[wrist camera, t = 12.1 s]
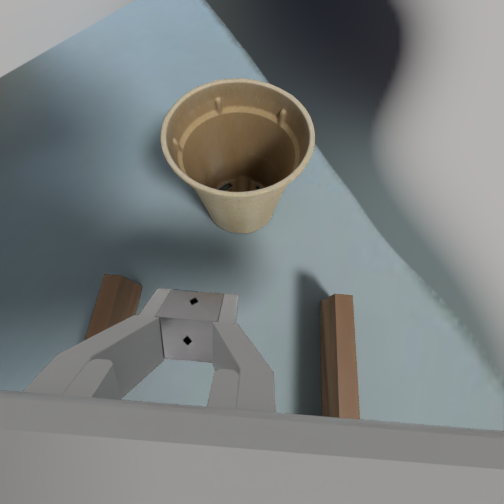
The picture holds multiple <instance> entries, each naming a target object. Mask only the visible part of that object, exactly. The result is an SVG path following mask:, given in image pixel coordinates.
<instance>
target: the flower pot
mask: <svg viewBox="0 0 504 504" xmlns="http://www.w3.org/2000/svg"><path fill="white" fill-rule="evenodd" d="M314 144H315V132H314V126H313V123H312V120H311V118H310V116H309V114H308V112H307V110H306V109H305V108H304V107H303V105H302V104H301V103H300V102H299V101H298V100H297V99H295V97H293V95H290V94H289V93H287V92H286V91H284V90H282V89H280V88H278V87H276V86H274V85H271V84H268V83H264V82H262V81H256V80H251V79H224V80H218V81H213V82H210V83H207V84H204V85H201V86H198V87H197V88H195V89H193V90H191V91H190V92H188V93H187V94H185V95H184V96H183V97H181V98H180V99H179V100H178V101H177V102H176V103H175V104H174V105H173V107H172V109H171V110H170V111H169V112H168V113H167V115H166V118H165V119H164V121H163V125H162V128H161V147H162V150H163V153H164V156H165V158H166V160H167V162H168V164H169V165H170V167H171V168H172V170H173V171H174V172H175V173H176V174H177V175H178V176H179V177H180V178H181V179H182V180H183V181H184V182H186V183H187V184H189V185H190V186H191V187H192V188H193V189H195V191H196V192H197V194H198V196H199V197H200V199H201V201H202V202H203V204H204V206H205V207H206V209H207V211H208V213H209V214H210V217H211V218H212V220H213V221H214V222H215V223H216V224H217V225H218V226H219V227H221V228H222V229H224V230H226V231H228V232H234V233H251V232H254V231H256V230H258V229H260V228H262V227H263V226H264V225H265V224H266V223H267V222H268V221H269V220H270V218H271V216H272V214H273V212H274V210H275V208H276V206H277V203H278V201H279V199H280V197H281V195H282V193H283V191H284V189H285V187H286V186H287V185H288V184H289V183H290V182H291V181H293V180H294V179H295V178H296V177H297V176H298V175H299V174H300V173H301V172H302V171H303V169H304V168H305V166H306V165H307V163H308V161H309V159H310V157H311V155H312V152H313V148H314ZM228 184H231V187H230V188H228V189H227V190H225V191H221V190H220V189H221V188H222V187H224V186H226V185H228ZM256 187H259V188H260V189H259V190H257V189H256Z"/></svg>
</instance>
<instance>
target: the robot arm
mask: <svg viewBox="0 0 504 504" xmlns="http://www.w3.org/2000/svg"><path fill="white" fill-rule="evenodd" d="M237 311H238V294H226V293H225V294H221V293H206V292H197V291H188V290H178V289H167V288H158V289H157V290H156V291H155V292H154V294H153V295H152V297H151V298H150V299H149V301H148V302H147V304H146V305H145V307H144V308H143V309H142V311H141V312H140V314H139V315H133V316H131V317H130V318H128V319H126V320H124V321H122V322H120V323H118V324H116V325H114V326H112V327H110V328H108V329H106V330H104V331H102V332H100V333H98V334H96V335H94V336H92V337H90V338H88V339H86V340H85V341H83V342H81V343H79V344H77V345H75V346H73V347H71V348H69V349H67V350H65V351H63V352H61V353H59V354H57V356H56V357H55V358H54V359H53V360H52V361H51V362H50V363H49V364H48V365H47V366H46V367H45V368H44V369H43V370H42V371H41V372H40V373H39V374H38V376H37V377H36V378H35V379H34V380H33V381H32V382H31V383H30V384H29V385H28V386H27V387H26V388H25V389H24V390H23V391H22V392H19V391H7V390H0V504H504V431H498V430H485V429H473V428H461V427H449V426H436V425H424V424H412V423H399V422H387V421H375V420H362V419H350V418H338V417H326V416H314V415H302V414H289V413H277V412H276V406H275V388H274V372H273V371H272V369H271V368H270V367H269V365H268V364H267V363H266V361H265V360H264V358H263V357H262V356H261V354H260V353H259V352H258V350H257V349H256V347H255V346H254V345H253V343H252V342H251V341H250V339H249V338H248V336H247V335H246V334H245V332H244V331H243V330H242V328H241V327H240V325H239V324H237ZM164 359H172V360H190V361H199V362H208V363H213V367H214V369H215V372H214V376H213V381H212V385H211V390H210V394H209V399H208V404H207V407H203V406H191V405H179V404H167V403H154V402H142V401H130V400H121V399H122V398H123V397H124V396H125V395H126V394H127V393H128V392H129V391H130V390H132V389H133V388H134V387H135V386H136V385H137V384H138V383H139V382H140V381H142V380H143V379H144V378H145V377H146V376H147V375H148V374H149V373H150V372H152V371H153V370H154V369H155V368H156V367H157V366H158V365H159V364H160V363H162V362H163V361H164Z"/></svg>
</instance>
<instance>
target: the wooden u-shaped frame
mask: <svg viewBox="0 0 504 504" xmlns="http://www.w3.org/2000/svg"><path fill="white" fill-rule="evenodd" d="M141 290H142V286H141V285H139V284H137V283H135V282H133V281H131V280H129V279H127V278H125V277H123V276H121V275H109V274H104V278H103V281H102V284H101V288H100V291H99V294H98V298H97V301H96V304H95V308H94V311H93V314H92V318H91V321H90V324H89V328H88V331H87V334H86V338H85V340H86V339H88V338H90V337H92V336H94V335H96V334H98V333H100V332H102V331H104V330H106V329H108V328H110V327H112V326H114V325H116V324H118V323H120V322H122V321H124V320H126V319H128V318H130V317H131V316H133V315H135V314H136V310H137V306H138V302H139V298H140V294H141ZM321 372H322V416H326V417H338V418H350V419H360V412H359V395H358V379H357V362H356V345H355V328H354V311H353V295H343V294H334V295H332V296H330V297H328V298H326V299H324V300H322V301H321Z"/></svg>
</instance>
